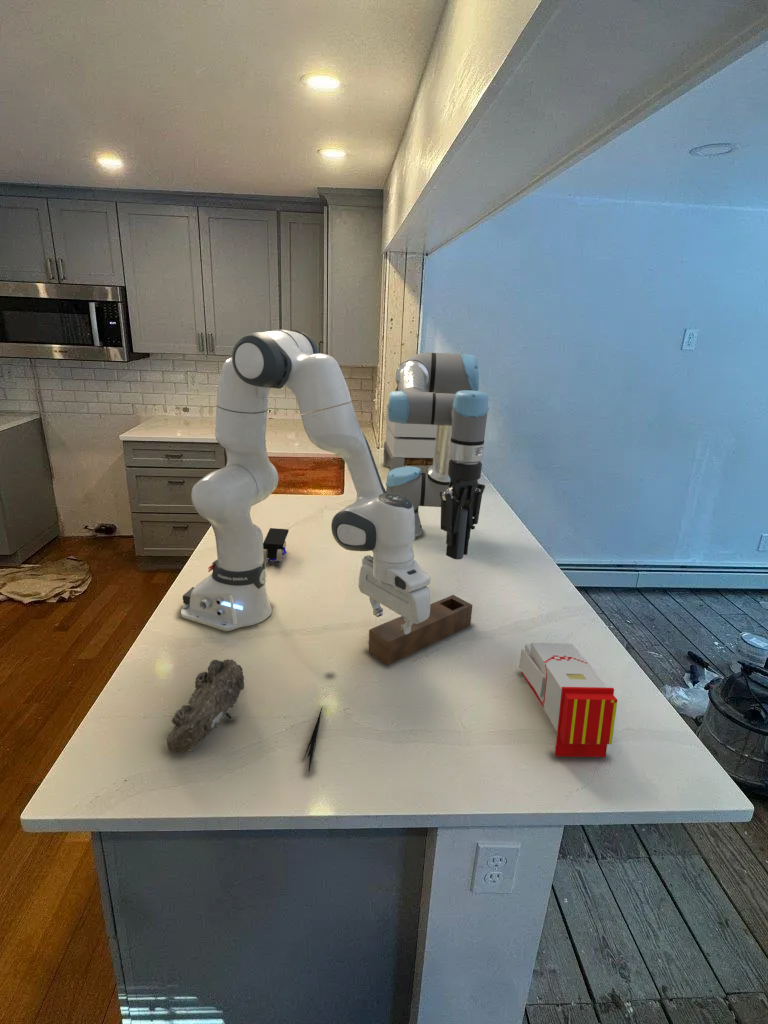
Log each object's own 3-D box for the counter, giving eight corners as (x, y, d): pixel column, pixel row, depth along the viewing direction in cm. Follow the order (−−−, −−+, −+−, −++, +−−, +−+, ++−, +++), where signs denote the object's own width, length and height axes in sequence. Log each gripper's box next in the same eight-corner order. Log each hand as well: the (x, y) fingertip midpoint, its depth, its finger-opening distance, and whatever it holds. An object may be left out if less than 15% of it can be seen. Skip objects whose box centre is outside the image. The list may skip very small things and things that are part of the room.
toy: (567, 625, 127) (627, 695, 97) (561, 680, 130) (618, 764, 100) (513, 624, 126) (557, 694, 97) (508, 679, 129) (550, 763, 100)
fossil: (192, 660, 117) (244, 628, 112) (224, 691, 120) (276, 661, 115) (142, 746, 98) (202, 712, 93) (182, 779, 101) (242, 748, 96)
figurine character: (283, 572, 170) (290, 547, 184) (282, 550, 167) (289, 526, 180) (260, 571, 170) (269, 546, 183) (259, 549, 167) (268, 526, 180)
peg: (447, 556, 137) (451, 509, 133) (456, 553, 139) (460, 507, 135) (457, 560, 135) (461, 513, 131) (466, 557, 137) (470, 510, 133)
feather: (331, 679, 122) (336, 673, 122) (307, 777, 96) (313, 769, 95) (324, 675, 122) (329, 669, 121) (298, 772, 95) (304, 764, 95)
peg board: (387, 665, 126) (388, 642, 124) (368, 651, 131) (369, 629, 129) (470, 625, 144) (472, 604, 142) (451, 615, 148) (453, 594, 146)
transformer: (382, 463, 289) (386, 382, 275) (445, 464, 293) (451, 384, 279) (390, 482, 257) (394, 392, 243) (460, 483, 261) (468, 394, 247)
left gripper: (352, 555, 128) (352, 610, 133) (414, 588, 114) (411, 648, 118) (373, 549, 132) (372, 602, 137) (436, 579, 118) (433, 637, 122)
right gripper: (453, 469, 121) (444, 568, 129) (501, 459, 131) (490, 552, 139) (428, 461, 126) (421, 557, 134) (476, 452, 137) (467, 542, 144)
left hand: (391, 623), depth 127 cm, fingers open, 8 cm apart
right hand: (456, 554), depth 137 cm, fingers closed on peg, 3 cm apart
